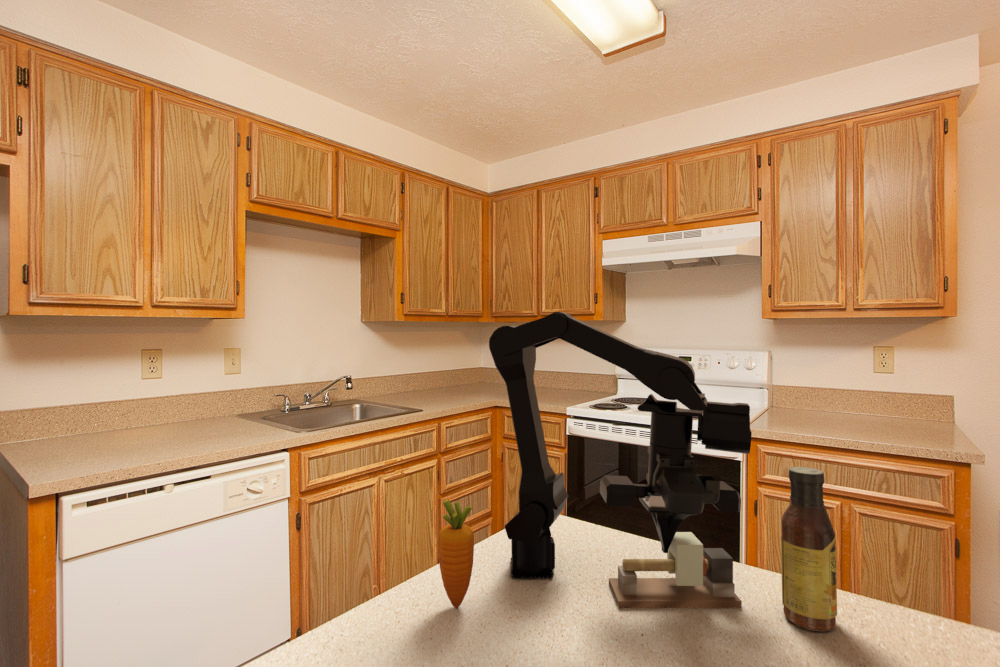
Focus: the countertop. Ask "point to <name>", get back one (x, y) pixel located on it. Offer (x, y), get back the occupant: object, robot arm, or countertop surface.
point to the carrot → (456, 553)
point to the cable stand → (665, 590)
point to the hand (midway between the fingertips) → (664, 552)
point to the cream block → (687, 559)
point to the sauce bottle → (808, 554)
